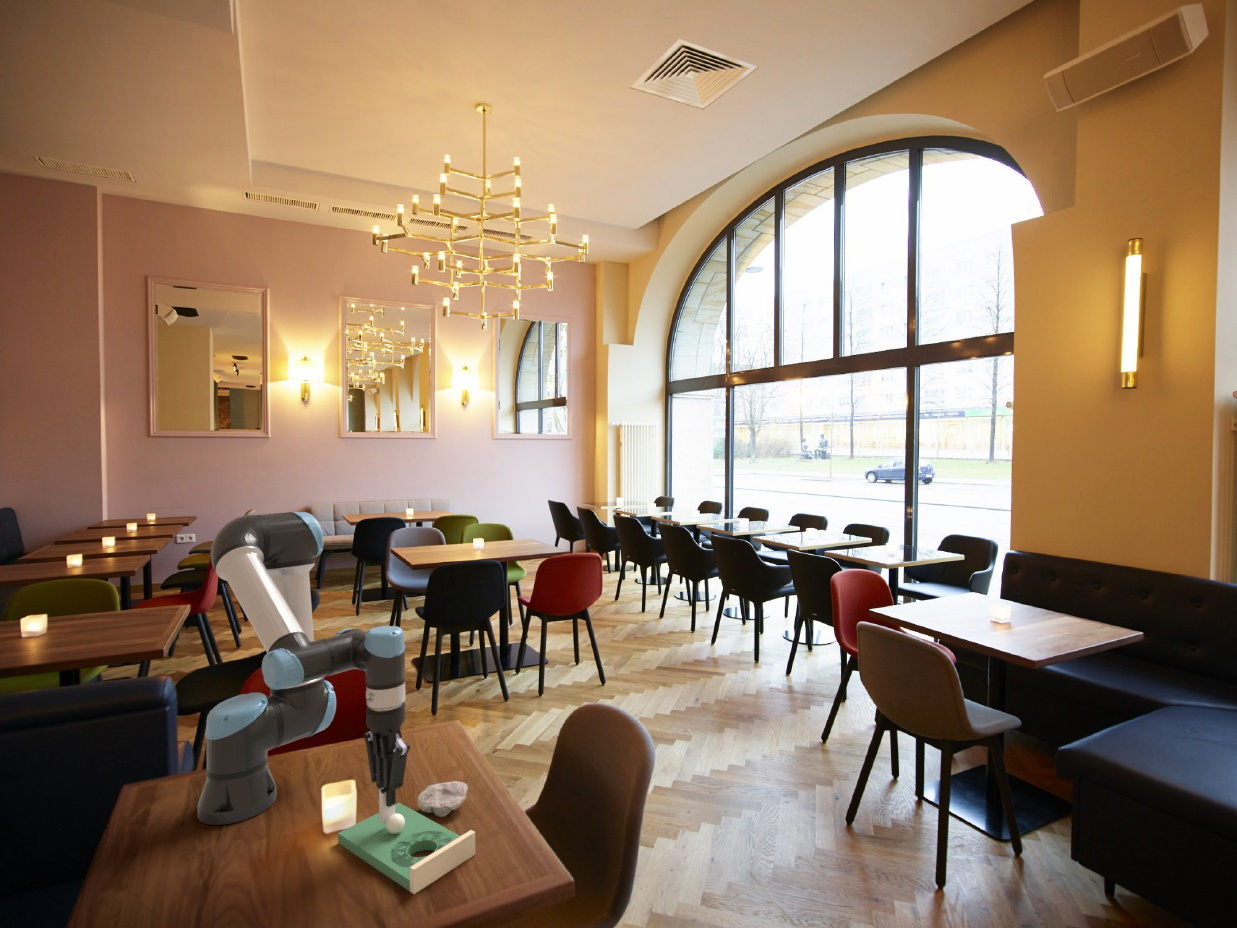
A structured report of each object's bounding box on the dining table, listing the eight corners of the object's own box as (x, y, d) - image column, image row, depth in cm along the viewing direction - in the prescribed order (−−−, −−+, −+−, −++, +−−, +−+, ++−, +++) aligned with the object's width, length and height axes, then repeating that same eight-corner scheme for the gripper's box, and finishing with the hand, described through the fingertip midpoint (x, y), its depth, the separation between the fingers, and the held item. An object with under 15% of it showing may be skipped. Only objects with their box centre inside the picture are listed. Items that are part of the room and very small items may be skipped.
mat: (338, 842, 127) (337, 821, 127) (398, 811, 138) (398, 791, 138) (414, 894, 112) (413, 869, 112) (475, 854, 123) (475, 831, 123)
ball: (380, 819, 127) (390, 817, 125) (396, 810, 130) (405, 809, 128) (384, 837, 126) (394, 836, 124) (400, 829, 129) (410, 828, 127)
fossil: (460, 808, 134) (418, 788, 135) (450, 833, 135) (408, 813, 136) (474, 783, 143) (435, 765, 144) (465, 807, 144) (425, 789, 144)
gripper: (351, 703, 129) (352, 817, 130) (388, 718, 122) (389, 839, 122) (383, 692, 135) (385, 801, 136) (421, 705, 128) (422, 821, 128)
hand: (387, 819), depth 129 cm, fingers closed
